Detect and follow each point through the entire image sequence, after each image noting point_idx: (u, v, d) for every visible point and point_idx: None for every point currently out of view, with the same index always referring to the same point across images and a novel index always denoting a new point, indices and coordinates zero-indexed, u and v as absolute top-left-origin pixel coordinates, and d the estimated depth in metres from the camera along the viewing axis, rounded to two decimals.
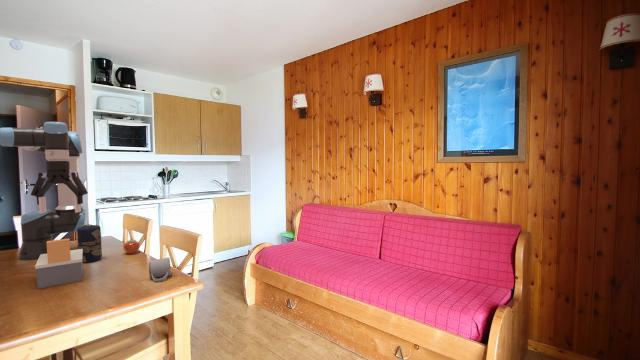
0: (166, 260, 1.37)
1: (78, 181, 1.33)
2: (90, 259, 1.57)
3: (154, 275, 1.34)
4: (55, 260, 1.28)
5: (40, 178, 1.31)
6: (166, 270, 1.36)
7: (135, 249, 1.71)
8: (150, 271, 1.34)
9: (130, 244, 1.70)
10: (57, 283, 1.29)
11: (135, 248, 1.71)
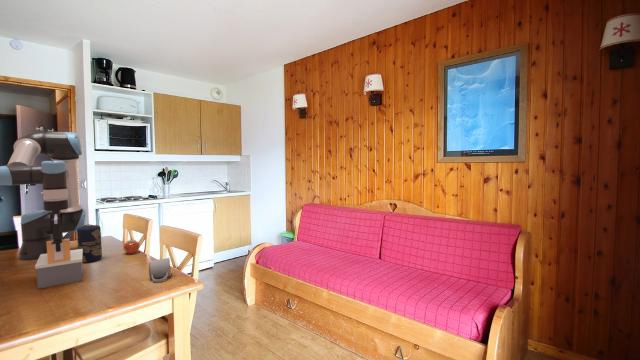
0: (166, 260, 1.37)
1: (54, 229, 1.24)
2: (90, 259, 1.57)
3: (154, 276, 1.34)
4: (55, 260, 1.28)
5: None
6: (166, 271, 1.35)
7: (135, 249, 1.71)
8: (150, 272, 1.33)
9: (130, 244, 1.70)
10: (57, 283, 1.29)
11: (135, 248, 1.71)
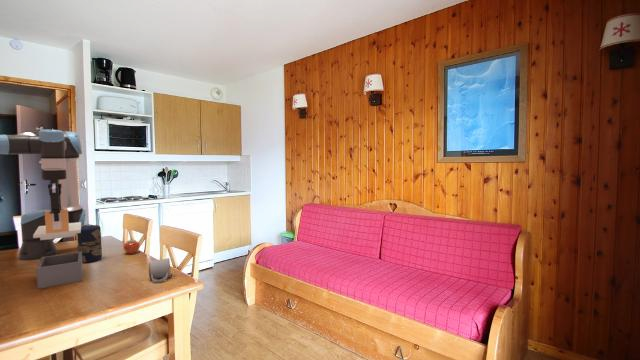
0: (166, 261, 1.36)
1: (53, 198, 1.24)
2: (90, 259, 1.57)
3: (154, 276, 1.33)
4: (53, 230, 1.28)
5: None
6: (166, 271, 1.35)
7: (135, 249, 1.71)
8: (150, 272, 1.32)
9: (130, 244, 1.70)
10: (57, 283, 1.29)
11: (135, 248, 1.71)
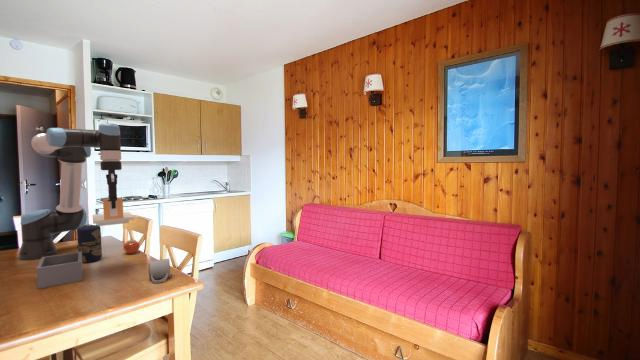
0: (166, 261, 1.36)
1: (111, 186, 1.34)
2: (90, 259, 1.57)
3: (154, 276, 1.33)
4: (110, 217, 1.38)
5: None
6: (166, 271, 1.34)
7: (135, 249, 1.71)
8: (150, 272, 1.32)
9: (130, 244, 1.70)
10: (57, 283, 1.29)
11: (135, 248, 1.71)
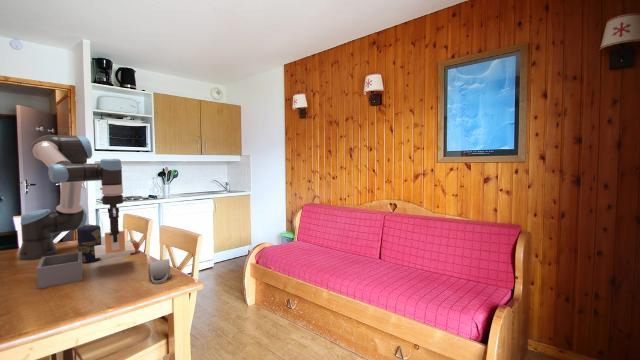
0: (166, 262, 1.35)
1: (113, 221, 1.35)
2: (90, 259, 1.57)
3: (154, 277, 1.32)
4: (112, 250, 1.39)
5: None
6: (166, 272, 1.34)
7: (135, 249, 1.71)
8: (149, 273, 1.31)
9: None
10: (57, 283, 1.29)
11: (135, 248, 1.71)
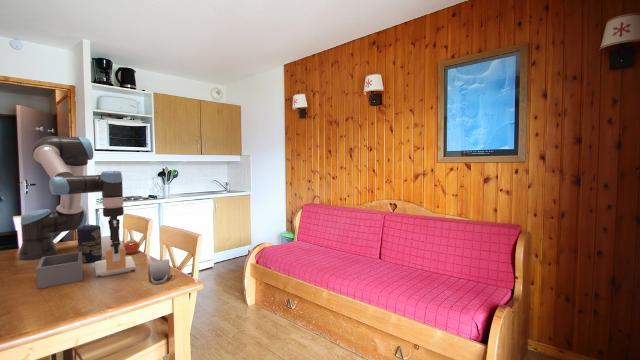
0: (166, 262, 1.35)
1: (114, 231, 1.34)
2: (90, 259, 1.57)
3: (153, 277, 1.32)
4: (112, 268, 1.39)
5: None
6: (166, 272, 1.33)
7: (135, 249, 1.71)
8: (149, 273, 1.31)
9: (130, 244, 1.70)
10: (57, 283, 1.29)
11: (135, 248, 1.71)
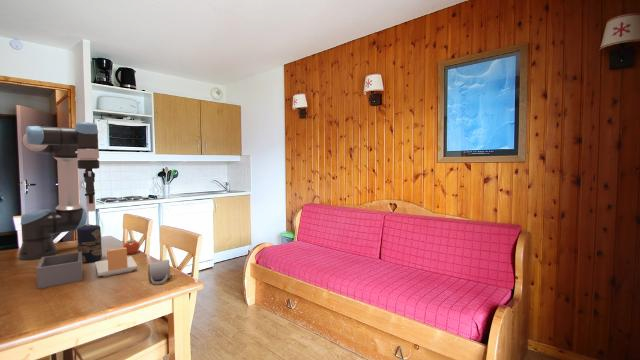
0: (165, 262, 1.34)
1: (88, 181, 1.32)
2: (90, 259, 1.57)
3: (153, 278, 1.31)
4: (114, 268, 1.39)
5: None
6: (166, 273, 1.32)
7: (135, 249, 1.71)
8: (149, 274, 1.30)
9: (130, 244, 1.70)
10: (57, 283, 1.29)
11: (135, 248, 1.71)
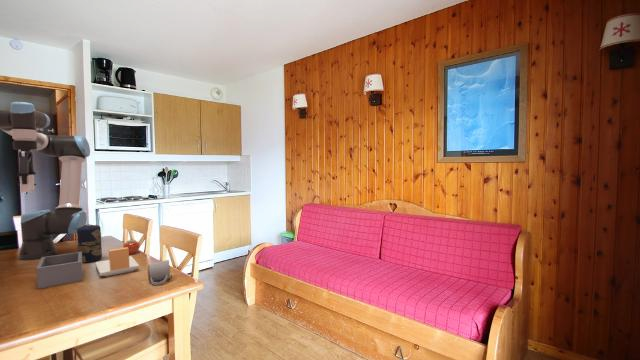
0: (165, 263, 1.34)
1: (21, 161, 1.29)
2: (90, 259, 1.57)
3: (153, 278, 1.31)
4: (116, 268, 1.40)
5: None
6: (165, 273, 1.32)
7: (135, 249, 1.71)
8: (149, 274, 1.30)
9: (130, 244, 1.70)
10: (57, 283, 1.29)
11: (135, 248, 1.71)
